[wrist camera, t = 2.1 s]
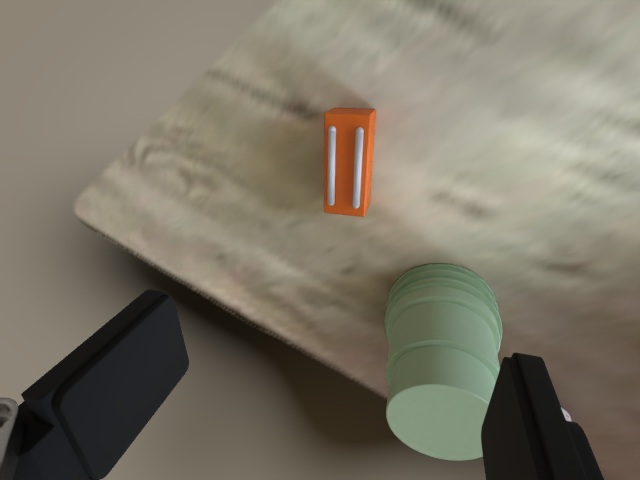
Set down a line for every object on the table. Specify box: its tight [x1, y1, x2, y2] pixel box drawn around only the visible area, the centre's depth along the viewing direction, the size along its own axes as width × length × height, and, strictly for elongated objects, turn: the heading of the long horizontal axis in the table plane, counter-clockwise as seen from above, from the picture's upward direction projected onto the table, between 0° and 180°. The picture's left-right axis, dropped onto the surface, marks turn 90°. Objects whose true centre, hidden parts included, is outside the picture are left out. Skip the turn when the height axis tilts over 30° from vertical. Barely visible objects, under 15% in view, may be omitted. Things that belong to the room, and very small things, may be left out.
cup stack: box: [384, 263, 502, 460], centre depth 25 cm, size 9×9×11 cm
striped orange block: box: [324, 108, 376, 217], centre depth 25 cm, size 7×3×3 cm, turn 0°
